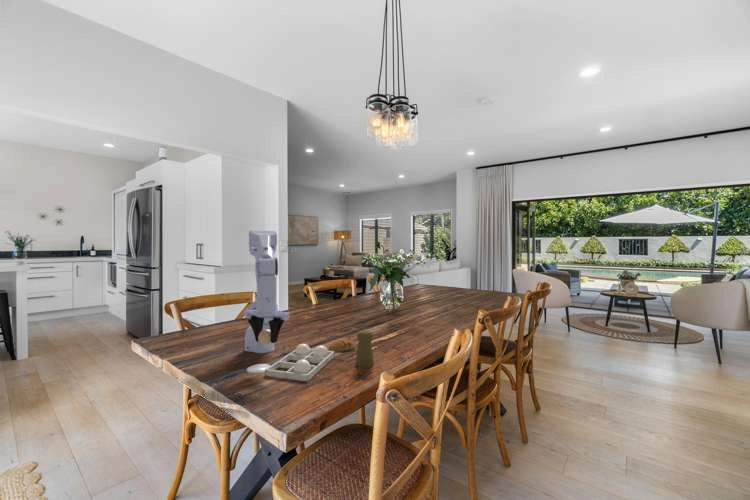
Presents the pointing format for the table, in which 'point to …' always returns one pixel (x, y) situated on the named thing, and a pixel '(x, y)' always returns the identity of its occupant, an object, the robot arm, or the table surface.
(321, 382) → the table surface
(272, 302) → the robot arm
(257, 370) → the saucer
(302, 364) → the white egg
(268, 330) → the brown egg
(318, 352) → the white egg
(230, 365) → the table surface
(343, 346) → the pastry
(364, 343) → the olive green pepper mill
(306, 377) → the egg carton
